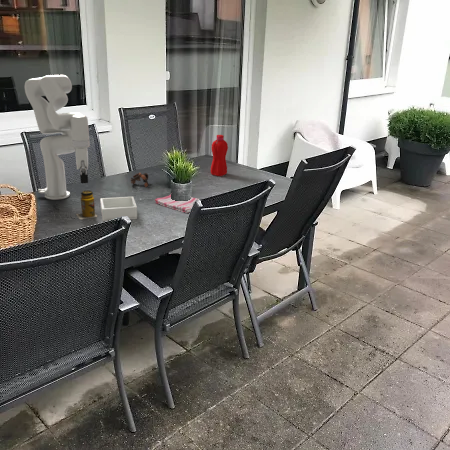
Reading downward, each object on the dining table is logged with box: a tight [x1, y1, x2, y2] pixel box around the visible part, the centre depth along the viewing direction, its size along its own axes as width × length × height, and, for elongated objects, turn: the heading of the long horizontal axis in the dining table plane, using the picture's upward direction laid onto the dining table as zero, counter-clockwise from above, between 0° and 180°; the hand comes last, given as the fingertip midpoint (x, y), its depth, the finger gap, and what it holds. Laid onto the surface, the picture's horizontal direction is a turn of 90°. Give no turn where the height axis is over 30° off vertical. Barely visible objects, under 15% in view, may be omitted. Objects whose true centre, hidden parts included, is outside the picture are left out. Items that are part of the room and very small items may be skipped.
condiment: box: [75, 190, 98, 220], centre depth 224 cm, size 7×8×12 cm
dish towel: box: [154, 193, 200, 214], centre depth 245 cm, size 17×23×4 cm
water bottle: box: [210, 134, 229, 177], centre depth 291 cm, size 9×11×25 cm
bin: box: [99, 196, 138, 222], centre depth 228 cm, size 16×15×6 cm
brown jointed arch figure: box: [129, 172, 149, 188], centre depth 271 cm, size 12×10×8 cm
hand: (84, 179), depth 219 cm, fingers open, 9 cm apart
